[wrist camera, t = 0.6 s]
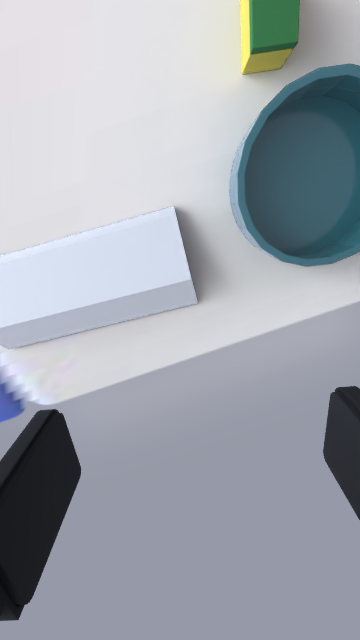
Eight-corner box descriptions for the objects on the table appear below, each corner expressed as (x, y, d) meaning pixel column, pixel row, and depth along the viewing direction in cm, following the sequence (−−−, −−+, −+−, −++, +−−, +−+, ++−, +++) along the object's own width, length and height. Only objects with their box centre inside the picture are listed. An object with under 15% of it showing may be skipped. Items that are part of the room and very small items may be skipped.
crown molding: (174, 207, 32) (173, 206, 29) (198, 300, 36) (199, 308, 33) (-35, 269, 35) (-58, 275, 32) (10, 348, 40) (-6, 360, 36)
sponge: (240, -5, 25) (251, -49, 21) (282, -12, 25) (302, -58, 21) (241, 74, 27) (252, 49, 23) (280, 68, 27) (298, 41, 23)
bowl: (225, 103, 28) (233, 80, 24) (395, 78, 27) (438, 49, 23) (232, 266, 35) (240, 274, 30) (370, 250, 34) (400, 256, 29)
